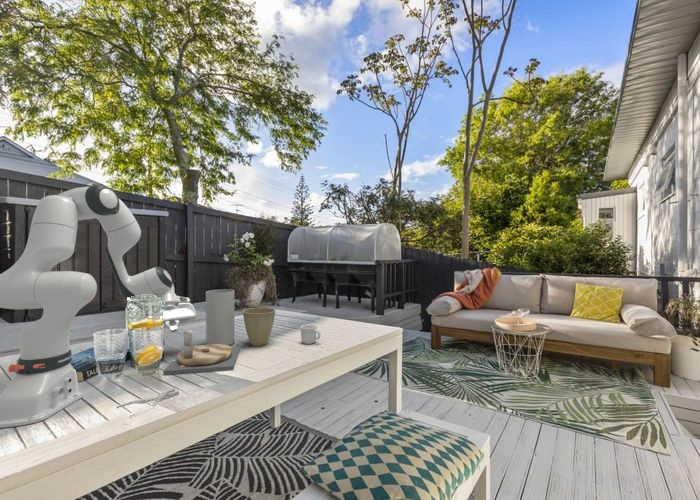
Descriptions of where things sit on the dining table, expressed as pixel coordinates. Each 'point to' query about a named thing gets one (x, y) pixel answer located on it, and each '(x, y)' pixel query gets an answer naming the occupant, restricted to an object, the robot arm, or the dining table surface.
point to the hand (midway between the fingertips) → (173, 331)
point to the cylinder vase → (220, 317)
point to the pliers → (161, 396)
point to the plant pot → (258, 324)
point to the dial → (202, 352)
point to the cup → (309, 333)
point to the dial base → (219, 366)
